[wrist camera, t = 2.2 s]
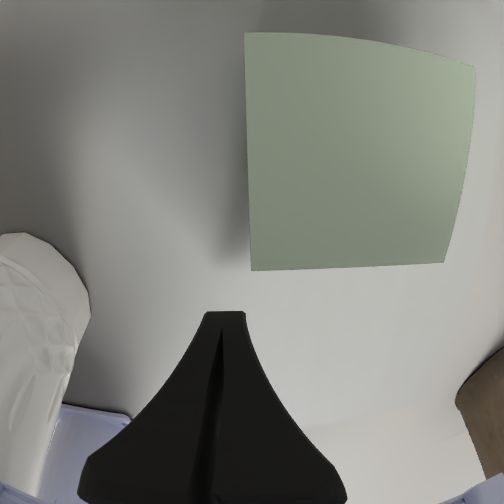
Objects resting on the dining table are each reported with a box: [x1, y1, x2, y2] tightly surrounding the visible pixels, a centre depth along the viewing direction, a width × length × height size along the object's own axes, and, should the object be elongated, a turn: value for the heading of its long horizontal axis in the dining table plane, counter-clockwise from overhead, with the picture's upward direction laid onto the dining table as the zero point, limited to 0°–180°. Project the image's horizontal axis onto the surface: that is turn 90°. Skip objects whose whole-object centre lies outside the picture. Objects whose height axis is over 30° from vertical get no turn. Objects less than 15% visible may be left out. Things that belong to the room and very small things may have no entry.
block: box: [244, 32, 476, 271], centre depth 7 cm, size 4×4×6 cm
